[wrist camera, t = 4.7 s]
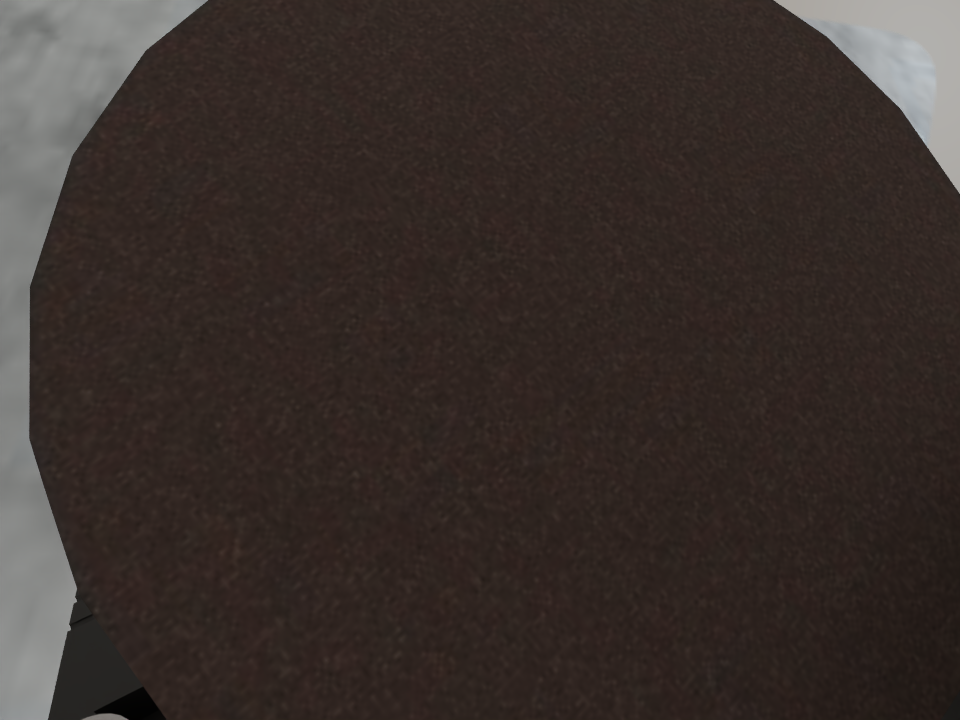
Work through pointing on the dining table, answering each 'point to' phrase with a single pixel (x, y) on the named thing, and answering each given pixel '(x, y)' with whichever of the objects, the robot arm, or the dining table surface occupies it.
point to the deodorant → (507, 368)
